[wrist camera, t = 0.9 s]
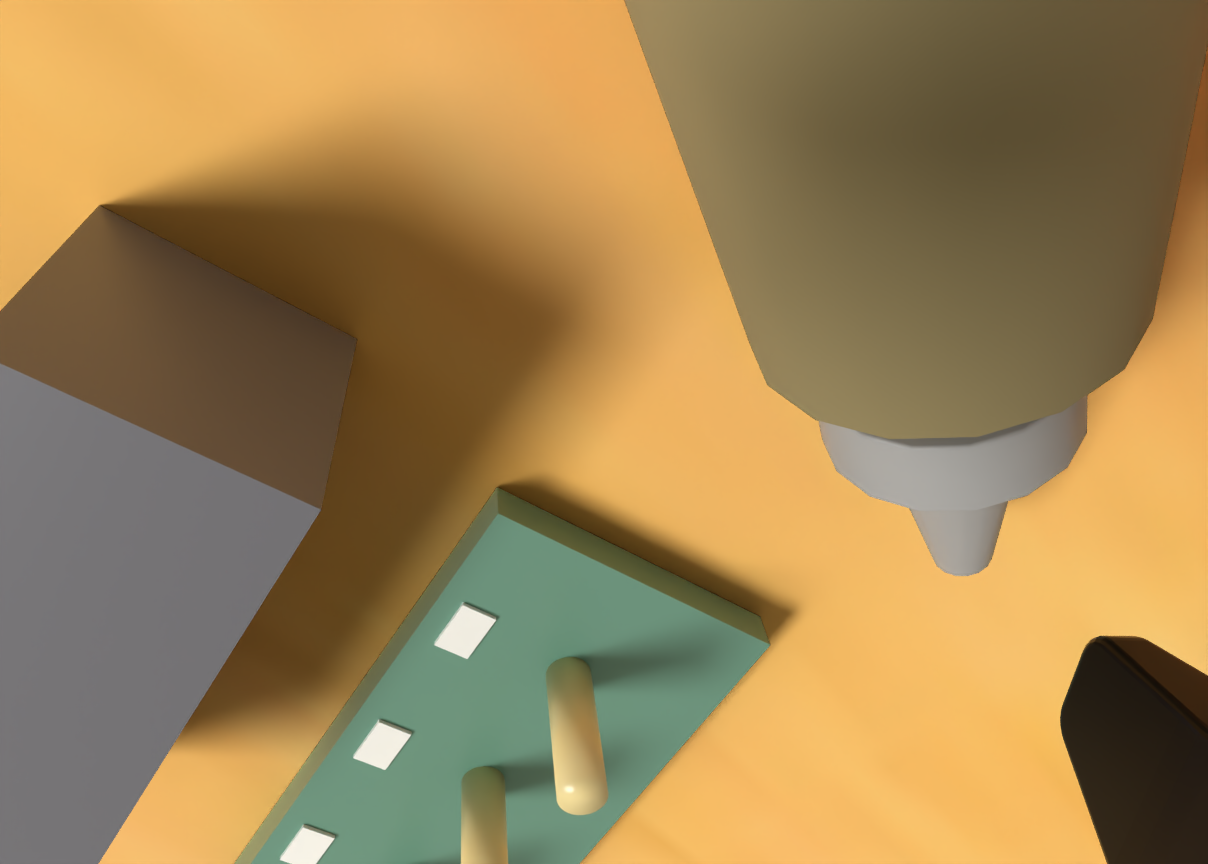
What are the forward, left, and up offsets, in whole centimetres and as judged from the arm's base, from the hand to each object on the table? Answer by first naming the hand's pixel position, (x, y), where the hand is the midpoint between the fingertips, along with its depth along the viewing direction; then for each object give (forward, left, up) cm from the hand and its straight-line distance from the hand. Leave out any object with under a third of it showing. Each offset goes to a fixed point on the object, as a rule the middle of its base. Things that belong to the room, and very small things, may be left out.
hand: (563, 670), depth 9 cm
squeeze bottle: (+2, -10, -8) cm, 13 cm away
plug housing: (+4, +10, -13) cm, 17 cm away
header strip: (-6, +12, -13) cm, 19 cm away
